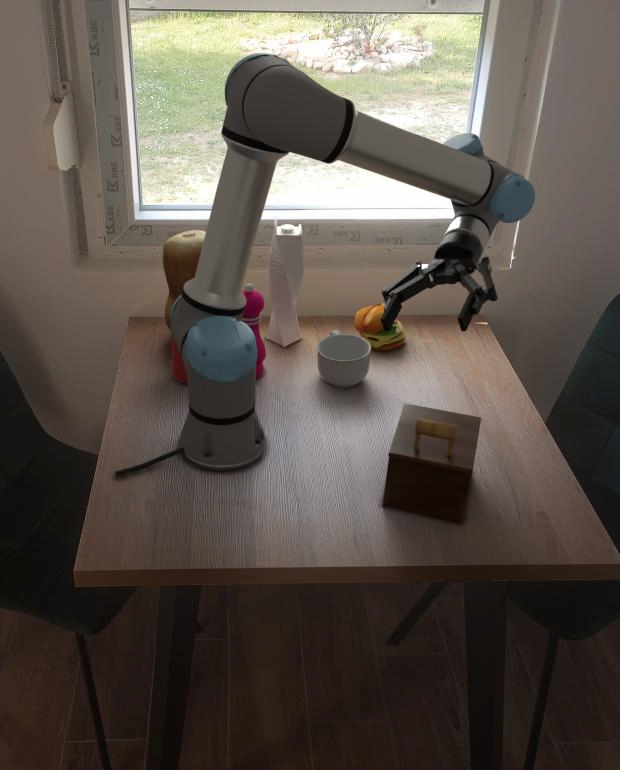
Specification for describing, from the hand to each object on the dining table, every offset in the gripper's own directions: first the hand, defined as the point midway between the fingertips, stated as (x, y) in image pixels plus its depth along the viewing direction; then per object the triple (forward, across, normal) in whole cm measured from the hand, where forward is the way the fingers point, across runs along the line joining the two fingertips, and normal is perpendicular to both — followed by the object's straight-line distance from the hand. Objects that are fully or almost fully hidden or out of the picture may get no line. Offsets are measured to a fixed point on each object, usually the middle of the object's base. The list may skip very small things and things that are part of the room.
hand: (421, 325), depth 130 cm
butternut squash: (-8, +60, -11) cm, 62 cm away
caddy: (+16, 0, -23) cm, 28 cm away
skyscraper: (-18, +46, -19) cm, 53 cm away
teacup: (-10, +28, -22) cm, 37 cm away
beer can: (+5, +53, -9) cm, 54 cm away
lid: (+13, -4, -13) cm, 19 cm away
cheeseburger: (-26, +28, -28) cm, 47 cm away
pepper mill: (-2, +44, -14) cm, 46 cm away
